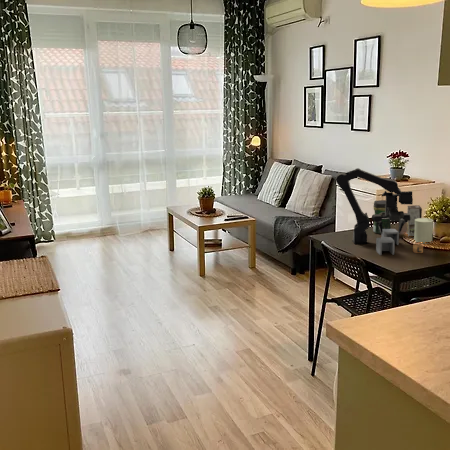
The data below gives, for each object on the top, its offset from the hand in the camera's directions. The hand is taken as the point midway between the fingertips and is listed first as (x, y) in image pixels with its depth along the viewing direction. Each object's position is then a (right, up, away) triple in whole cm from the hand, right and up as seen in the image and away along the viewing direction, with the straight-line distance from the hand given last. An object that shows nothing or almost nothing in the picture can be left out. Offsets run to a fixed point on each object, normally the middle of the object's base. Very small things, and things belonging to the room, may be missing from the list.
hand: (390, 233), depth 269 cm
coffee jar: (+3, 0, +24) cm, 24 cm away
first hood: (-7, -9, -14) cm, 18 cm away
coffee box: (+17, -1, +14) cm, 23 cm away
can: (+18, -4, +3) cm, 19 cm away
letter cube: (+9, -9, -15) cm, 19 cm away
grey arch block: (0, -5, +1) cm, 6 cm away
